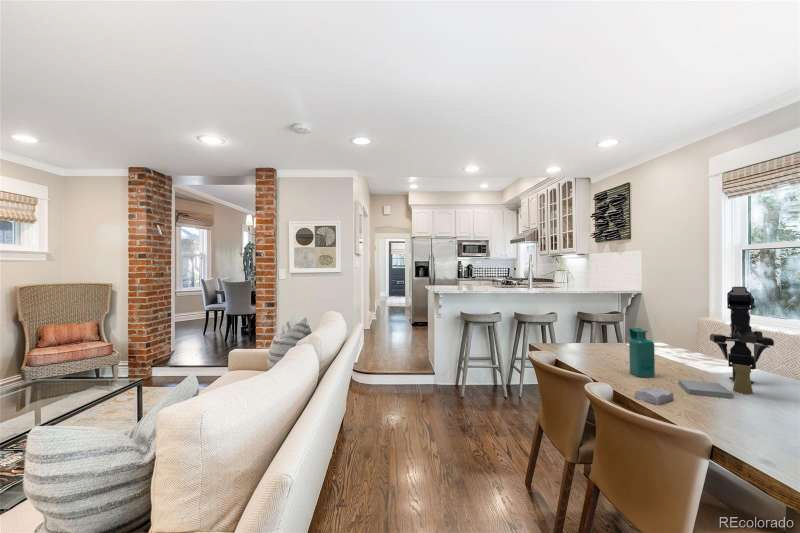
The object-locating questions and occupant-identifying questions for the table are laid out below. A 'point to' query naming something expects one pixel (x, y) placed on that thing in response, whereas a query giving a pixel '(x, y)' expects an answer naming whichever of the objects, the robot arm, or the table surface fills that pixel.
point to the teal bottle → (641, 354)
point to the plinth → (705, 388)
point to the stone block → (654, 395)
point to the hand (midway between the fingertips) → (741, 360)
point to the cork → (742, 379)
